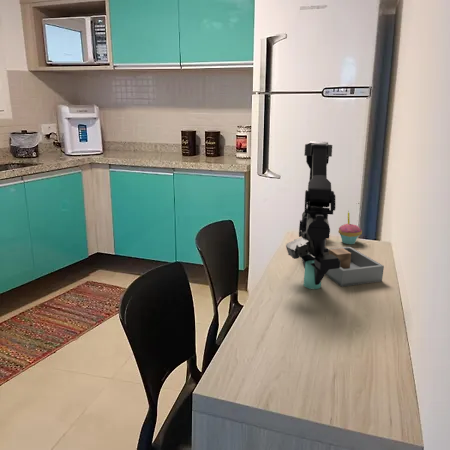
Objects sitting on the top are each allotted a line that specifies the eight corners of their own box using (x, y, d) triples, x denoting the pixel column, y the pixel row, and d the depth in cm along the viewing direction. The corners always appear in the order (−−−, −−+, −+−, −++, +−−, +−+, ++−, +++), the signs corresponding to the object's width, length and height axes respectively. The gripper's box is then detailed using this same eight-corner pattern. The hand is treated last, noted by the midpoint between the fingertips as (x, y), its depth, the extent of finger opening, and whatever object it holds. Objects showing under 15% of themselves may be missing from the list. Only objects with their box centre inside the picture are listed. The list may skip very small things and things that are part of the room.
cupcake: (332, 240, 171) (335, 210, 168) (350, 237, 175) (353, 208, 171) (347, 247, 164) (350, 215, 160) (365, 244, 167) (368, 213, 164)
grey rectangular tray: (311, 264, 146) (312, 250, 145) (348, 260, 151) (350, 246, 149) (341, 286, 130) (343, 270, 129) (382, 281, 134) (383, 265, 133)
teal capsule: (300, 283, 132) (302, 261, 130) (315, 281, 133) (317, 259, 131) (308, 290, 127) (310, 267, 125) (324, 288, 129) (326, 265, 127)
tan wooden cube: (336, 269, 141) (337, 254, 139) (328, 263, 145) (329, 249, 144) (349, 267, 142) (351, 253, 141) (341, 262, 147) (342, 248, 145)
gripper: (276, 223, 132) (274, 271, 136) (306, 242, 115) (302, 297, 119) (310, 220, 135) (306, 268, 139) (344, 239, 118) (338, 292, 122)
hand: (312, 280), depth 130 cm, fingers closed on teal capsule, 5 cm apart
